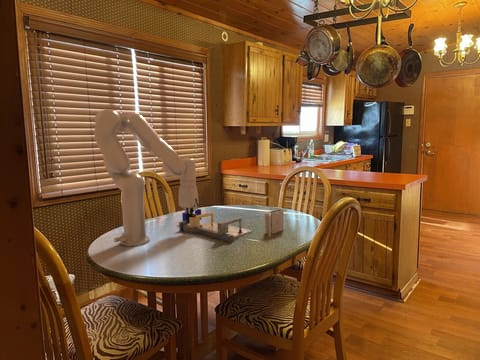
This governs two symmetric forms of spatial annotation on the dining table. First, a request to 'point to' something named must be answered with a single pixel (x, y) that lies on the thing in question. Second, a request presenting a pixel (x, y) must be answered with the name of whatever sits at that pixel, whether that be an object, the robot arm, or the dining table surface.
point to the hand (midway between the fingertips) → (189, 220)
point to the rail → (205, 232)
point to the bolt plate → (231, 229)
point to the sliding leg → (195, 219)
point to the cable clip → (197, 212)
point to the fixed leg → (224, 225)
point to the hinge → (273, 221)
